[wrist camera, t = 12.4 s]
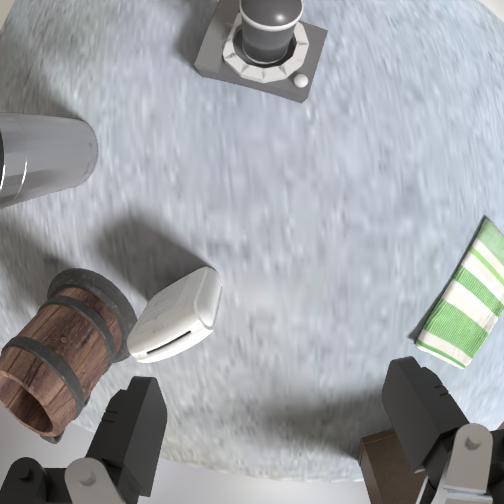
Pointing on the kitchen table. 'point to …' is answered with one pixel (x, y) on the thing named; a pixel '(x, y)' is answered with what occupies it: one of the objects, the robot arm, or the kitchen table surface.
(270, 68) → the camera body
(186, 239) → the kitchen table surface
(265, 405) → the kitchen table surface
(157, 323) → the photo printer
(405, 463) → the brown box with post
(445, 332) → the dish towel
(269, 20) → the lens
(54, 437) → the tankard
